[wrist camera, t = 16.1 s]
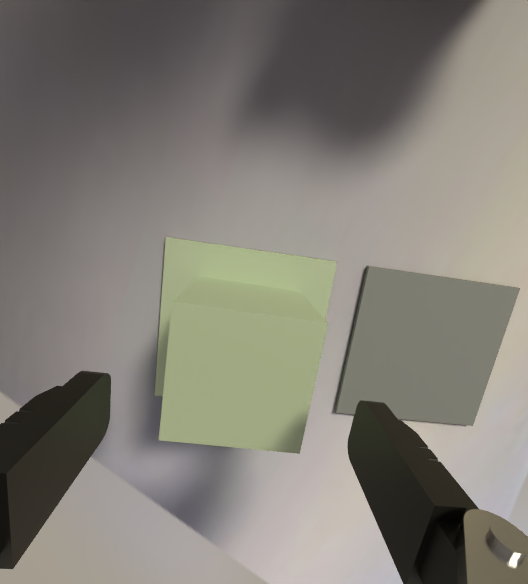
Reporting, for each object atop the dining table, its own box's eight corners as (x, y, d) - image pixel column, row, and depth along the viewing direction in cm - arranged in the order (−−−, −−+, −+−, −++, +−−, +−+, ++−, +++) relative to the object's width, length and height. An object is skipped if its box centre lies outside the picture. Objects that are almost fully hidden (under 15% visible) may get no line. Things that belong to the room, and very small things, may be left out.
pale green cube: (199, 276, 16) (172, 301, 10) (299, 291, 17) (328, 323, 11) (188, 369, 17) (158, 440, 11) (282, 380, 18) (299, 453, 12)
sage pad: (167, 237, 16) (165, 237, 15) (335, 261, 17) (337, 261, 16) (155, 393, 18) (154, 395, 17) (306, 407, 19) (307, 410, 18)
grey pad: (366, 266, 17) (369, 266, 16) (515, 287, 18) (520, 288, 17) (334, 410, 19) (336, 412, 18) (469, 422, 20) (472, 425, 19)
